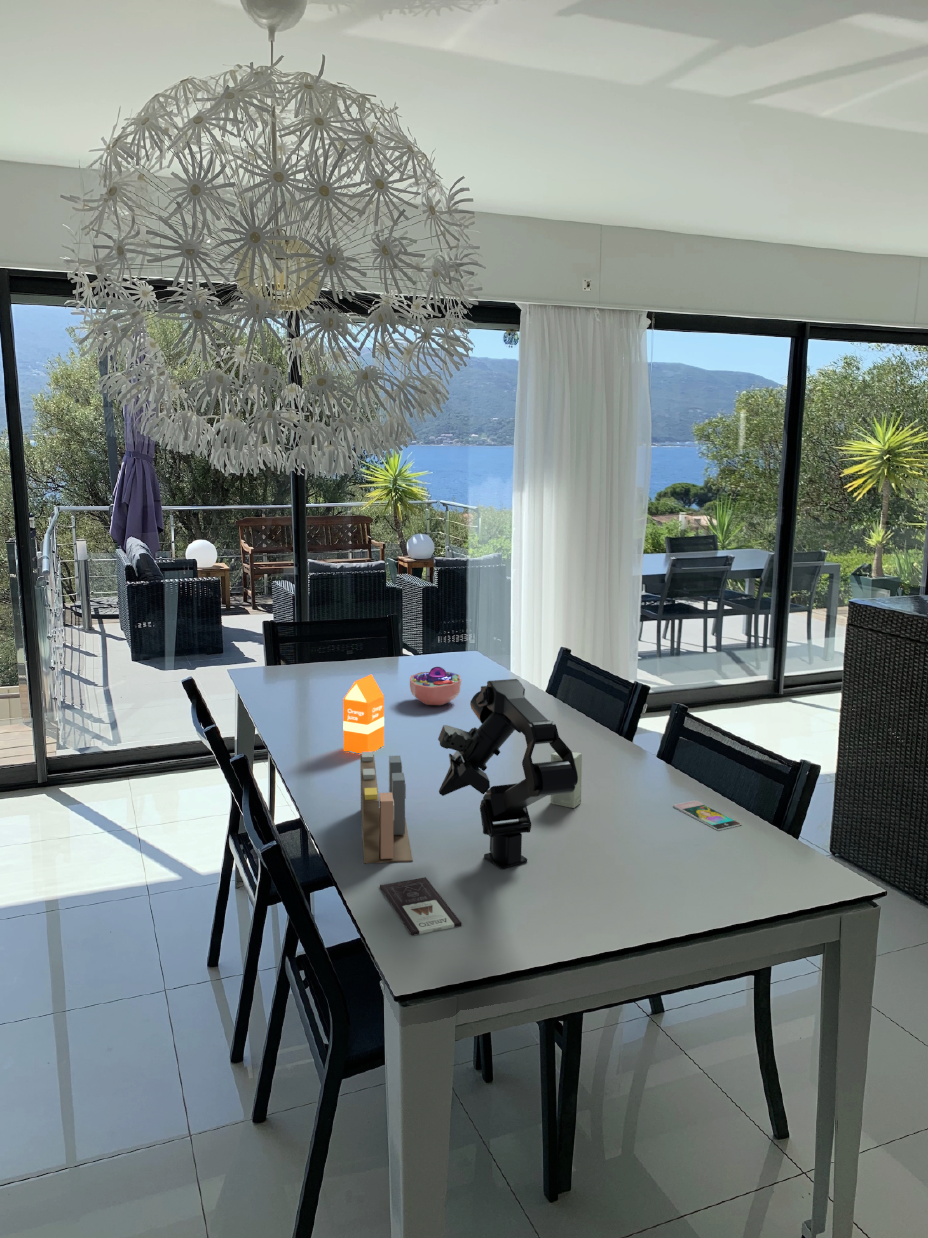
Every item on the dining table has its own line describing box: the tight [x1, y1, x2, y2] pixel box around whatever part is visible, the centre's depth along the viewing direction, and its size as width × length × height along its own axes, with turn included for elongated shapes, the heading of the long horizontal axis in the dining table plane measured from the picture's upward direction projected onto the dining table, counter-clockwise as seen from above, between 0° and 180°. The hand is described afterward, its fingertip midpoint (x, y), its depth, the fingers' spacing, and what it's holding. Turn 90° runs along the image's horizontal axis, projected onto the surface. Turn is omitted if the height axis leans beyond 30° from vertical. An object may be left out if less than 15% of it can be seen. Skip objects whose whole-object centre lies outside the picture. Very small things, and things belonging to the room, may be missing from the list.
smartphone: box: [672, 799, 743, 832], centre depth 204 cm, size 7×1×15 cm
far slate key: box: [388, 755, 403, 793], centre depth 202 cm, size 3×4×12 cm, turn 8°
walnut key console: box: [359, 751, 413, 864], centre depth 190 cm, size 10×27×14 cm, turn 8°
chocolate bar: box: [379, 876, 462, 936], centre depth 162 cm, size 9×1×18 cm
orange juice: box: [342, 674, 385, 754], centre depth 244 cm, size 8×9×20 cm
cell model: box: [409, 666, 462, 706], centre depth 290 cm, size 17×20×11 cm
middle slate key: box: [392, 772, 407, 835], centre depth 191 cm, size 3×4×12 cm, turn 8°
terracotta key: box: [379, 792, 394, 859], centre depth 180 cm, size 3×4×12 cm, turn 8°
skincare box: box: [550, 750, 583, 809], centre depth 209 cm, size 6×4×12 cm
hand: (440, 793), depth 182 cm, fingers closed
